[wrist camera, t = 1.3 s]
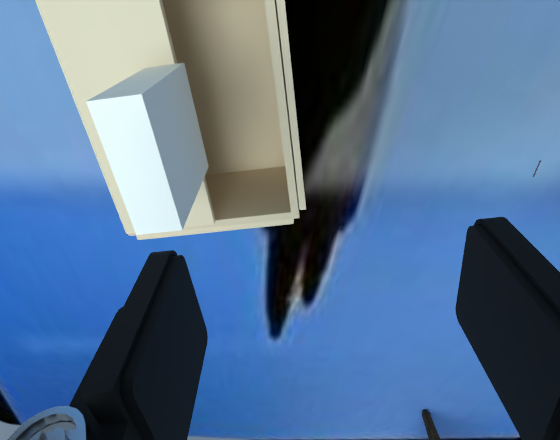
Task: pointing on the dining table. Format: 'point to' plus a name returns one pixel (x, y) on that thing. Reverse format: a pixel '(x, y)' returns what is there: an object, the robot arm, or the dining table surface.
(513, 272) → the robot arm
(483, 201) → the dining table surface
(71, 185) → the dining table surface
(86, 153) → the dining table surface
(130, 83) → the top flap
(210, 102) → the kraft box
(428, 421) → the decorative torch
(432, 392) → the dining table surface
